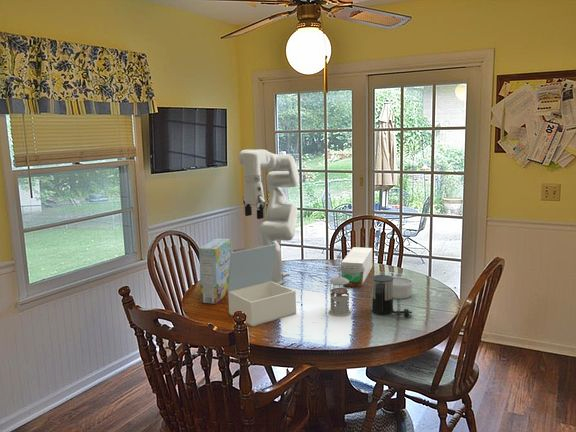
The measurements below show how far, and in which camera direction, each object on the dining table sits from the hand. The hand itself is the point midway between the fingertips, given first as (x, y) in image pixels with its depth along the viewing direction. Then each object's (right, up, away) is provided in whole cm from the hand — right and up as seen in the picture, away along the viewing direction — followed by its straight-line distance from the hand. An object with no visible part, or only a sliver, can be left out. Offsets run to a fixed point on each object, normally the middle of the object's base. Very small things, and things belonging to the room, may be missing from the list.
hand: (254, 217), depth 230 cm
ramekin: (+66, -36, +5) cm, 75 cm away
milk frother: (+58, -40, -17) cm, 73 cm away
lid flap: (0, -22, -12) cm, 25 cm away
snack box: (-18, -37, +10) cm, 43 cm away
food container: (+46, -34, +19) cm, 60 cm away
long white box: (+52, -31, +39) cm, 72 cm away
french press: (+37, -40, -14) cm, 56 cm away
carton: (+4, -41, -14) cm, 43 cm away
